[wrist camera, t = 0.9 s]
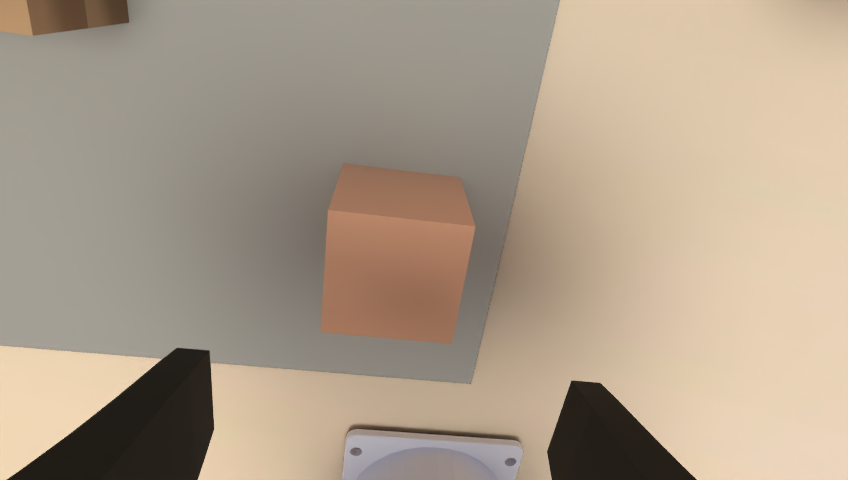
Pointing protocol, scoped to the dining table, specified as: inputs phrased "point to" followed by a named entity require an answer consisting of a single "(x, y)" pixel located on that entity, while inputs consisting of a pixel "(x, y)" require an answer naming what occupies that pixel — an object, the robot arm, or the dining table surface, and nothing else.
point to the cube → (395, 254)
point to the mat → (249, 169)
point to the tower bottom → (106, 12)
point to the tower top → (42, 16)
